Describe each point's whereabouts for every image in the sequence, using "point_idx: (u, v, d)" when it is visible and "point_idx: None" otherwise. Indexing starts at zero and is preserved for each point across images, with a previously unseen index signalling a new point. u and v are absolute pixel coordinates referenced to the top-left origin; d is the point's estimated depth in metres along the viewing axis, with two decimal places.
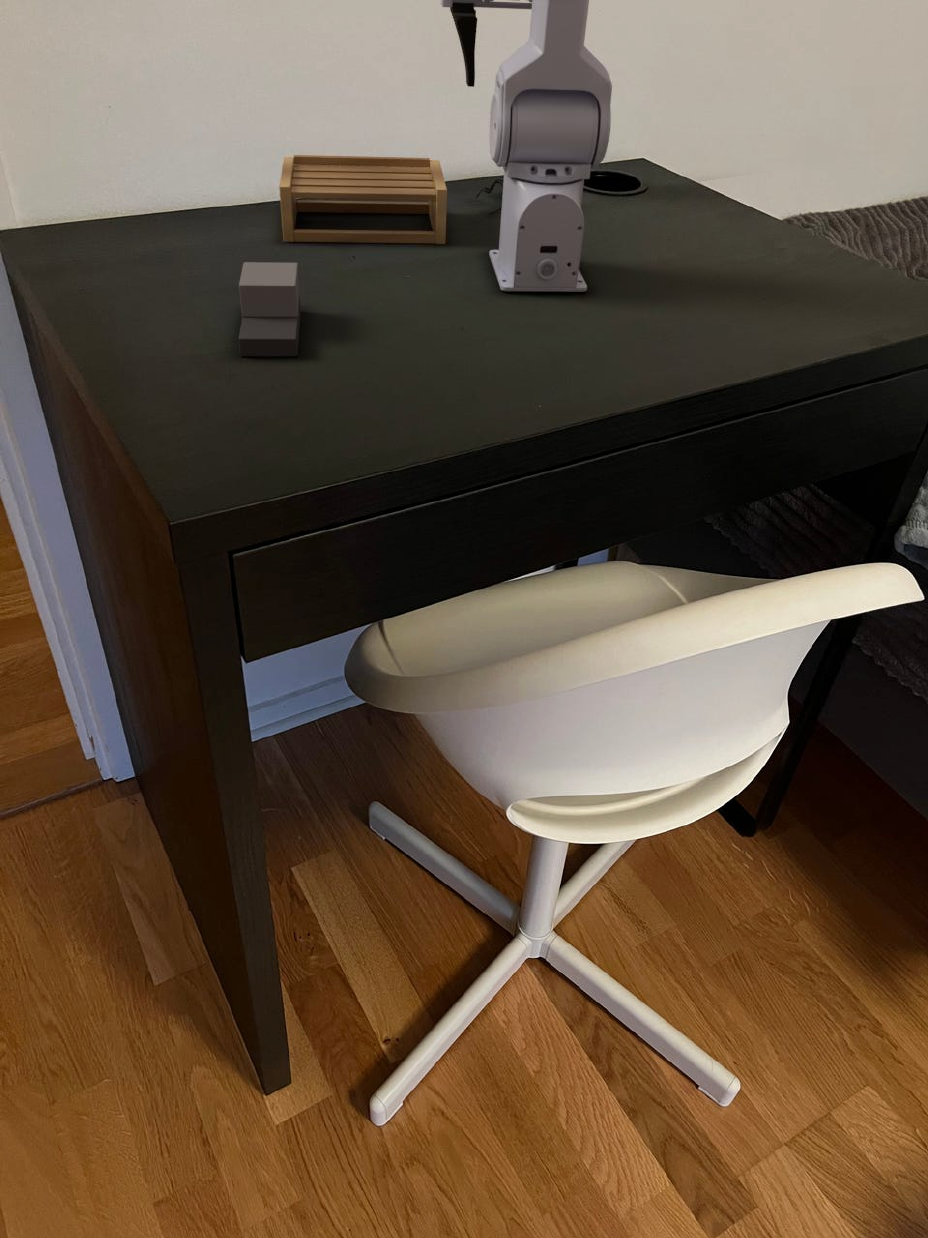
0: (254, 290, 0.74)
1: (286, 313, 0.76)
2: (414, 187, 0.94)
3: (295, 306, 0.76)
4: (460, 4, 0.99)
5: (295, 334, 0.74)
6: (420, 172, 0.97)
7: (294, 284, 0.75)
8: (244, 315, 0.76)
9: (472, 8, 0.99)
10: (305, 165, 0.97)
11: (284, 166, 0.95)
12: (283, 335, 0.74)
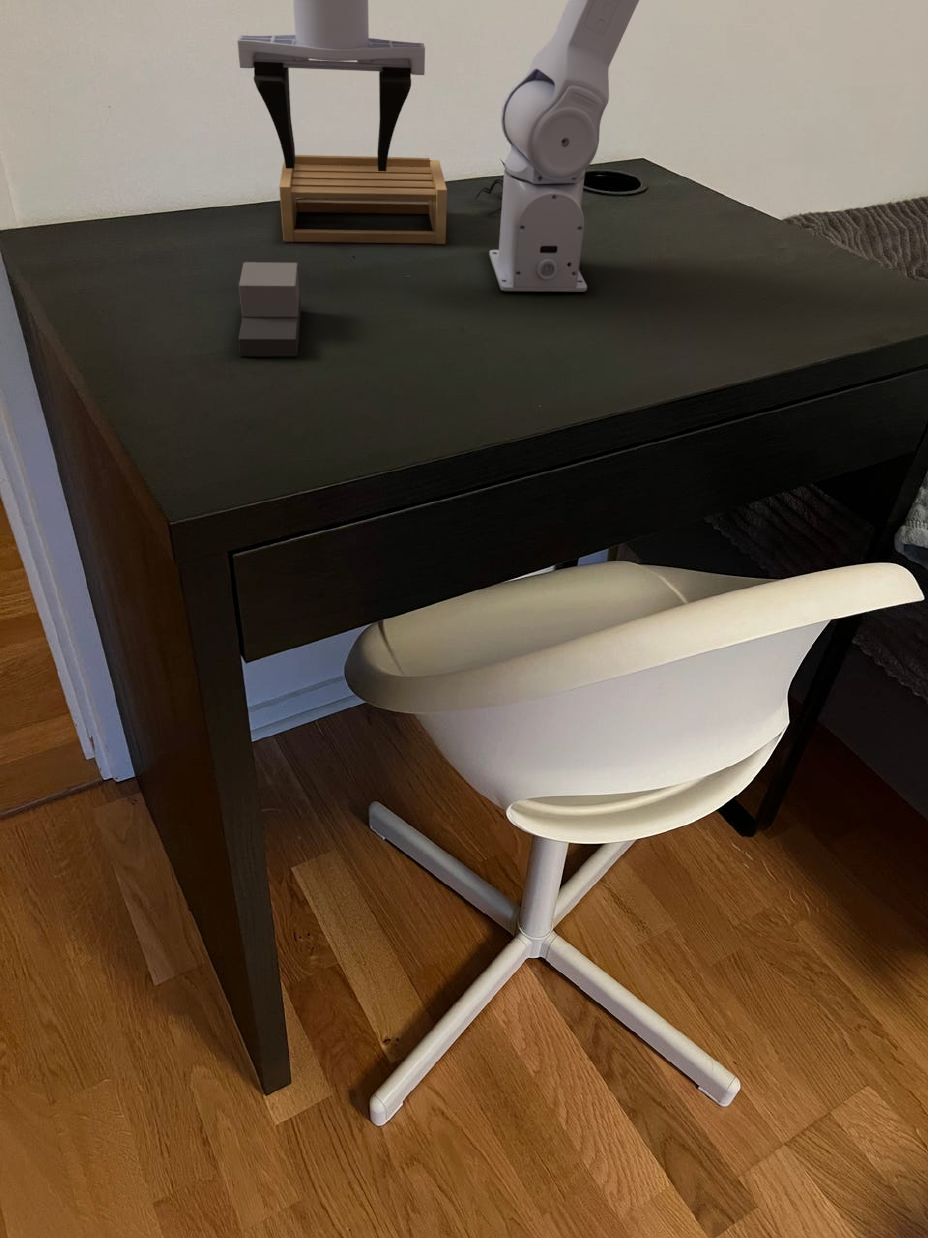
0: (254, 290, 0.74)
1: (286, 313, 0.76)
2: (414, 187, 0.94)
3: (295, 306, 0.76)
4: (264, 64, 0.74)
5: (295, 334, 0.74)
6: (420, 172, 0.97)
7: (294, 284, 0.75)
8: (244, 315, 0.76)
9: (281, 69, 0.75)
10: (305, 165, 0.97)
11: (284, 166, 0.95)
12: (283, 335, 0.74)
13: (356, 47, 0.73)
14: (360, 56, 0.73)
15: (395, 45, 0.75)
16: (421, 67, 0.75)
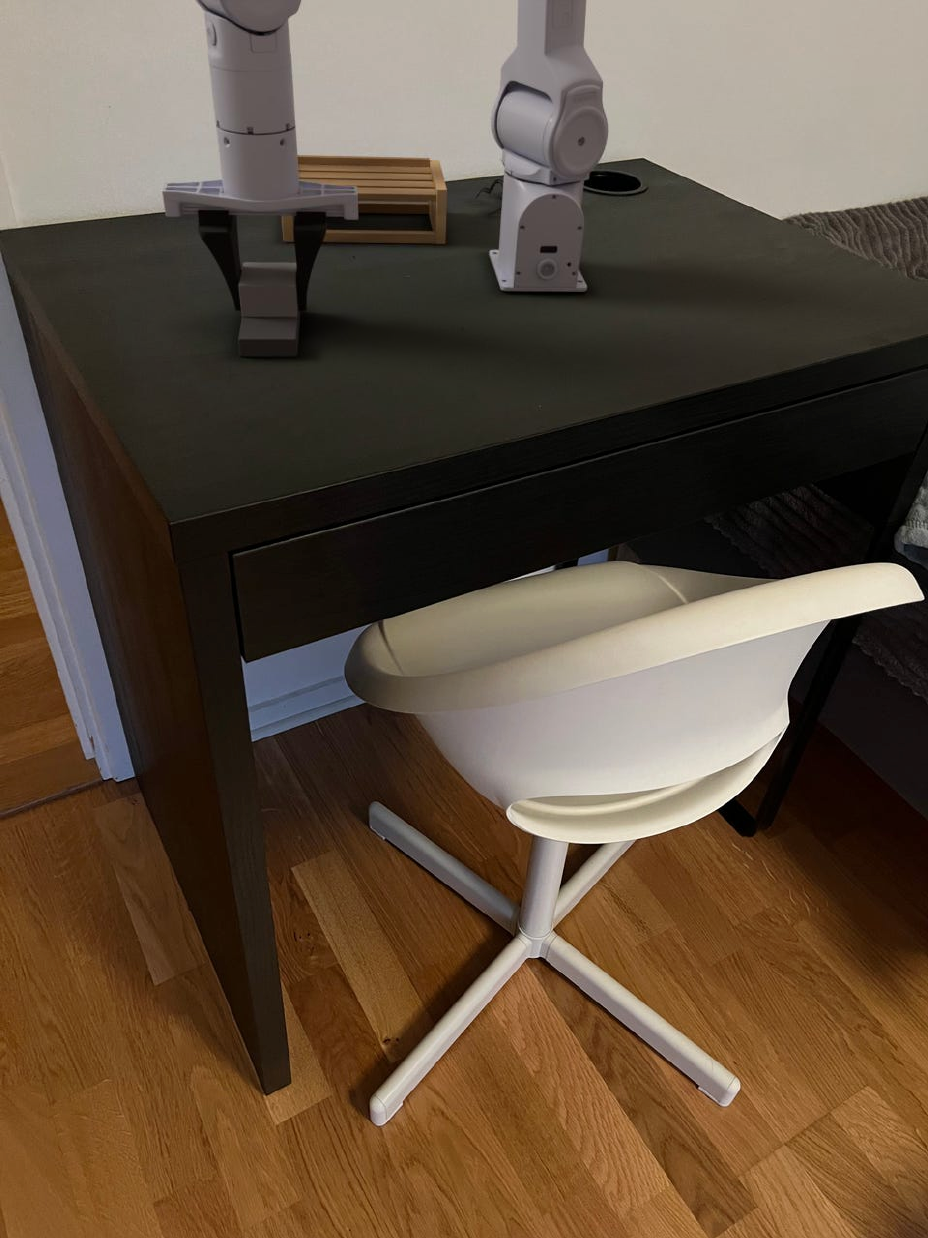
0: (254, 290, 0.74)
1: (286, 313, 0.76)
2: (414, 187, 0.94)
3: (295, 306, 0.76)
4: (209, 213, 0.72)
5: (295, 334, 0.74)
6: (420, 172, 0.97)
7: (294, 284, 0.75)
8: (244, 315, 0.76)
9: (226, 218, 0.72)
10: (305, 165, 0.97)
11: None
12: (282, 335, 0.74)
13: (285, 197, 0.70)
14: (289, 206, 0.71)
15: (327, 191, 0.72)
16: (354, 212, 0.73)
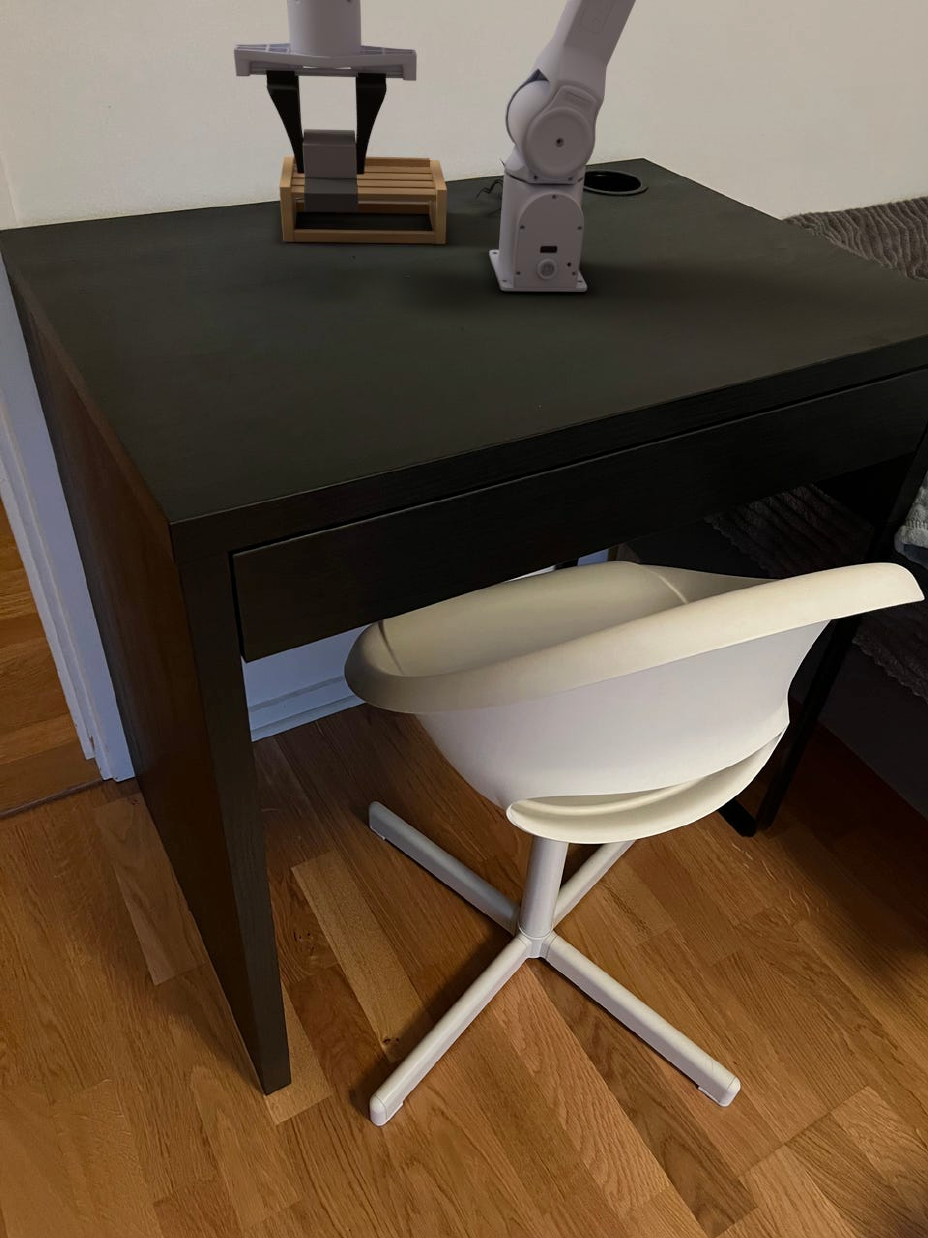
0: (317, 150, 0.79)
1: (346, 174, 0.80)
2: (414, 187, 0.94)
3: (355, 167, 0.80)
4: (276, 73, 0.76)
5: (356, 190, 0.78)
6: (420, 172, 0.97)
7: (354, 144, 0.79)
8: (306, 176, 0.80)
9: (292, 78, 0.77)
10: None
11: (284, 166, 0.95)
12: (345, 190, 0.78)
13: (350, 54, 0.75)
14: (354, 63, 0.75)
15: (387, 52, 0.77)
16: (413, 73, 0.77)
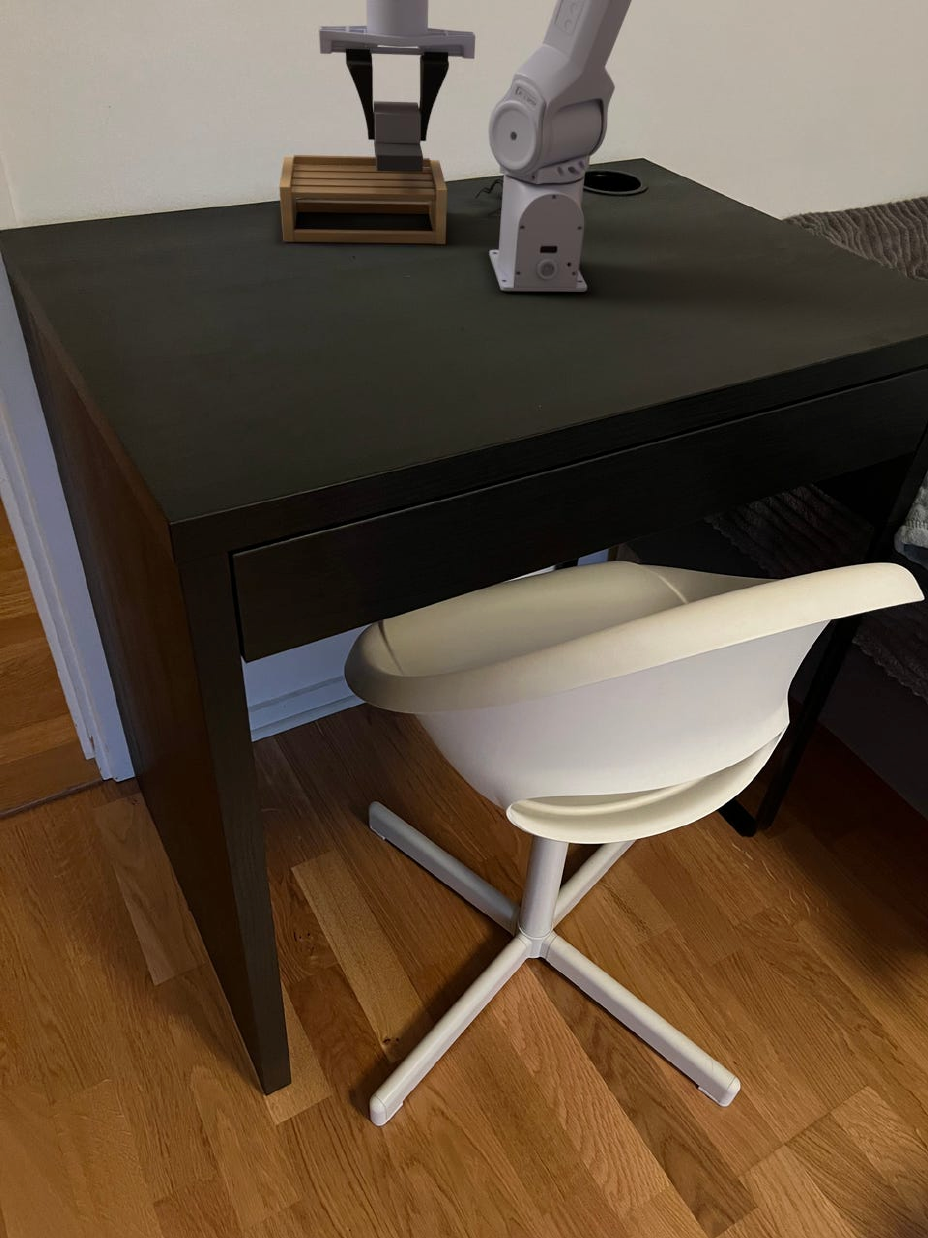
0: (387, 118, 0.91)
1: (411, 140, 0.92)
2: (414, 187, 0.94)
3: (419, 133, 0.92)
4: (354, 51, 0.88)
5: (421, 153, 0.90)
6: (420, 172, 0.97)
7: (419, 114, 0.91)
8: (377, 141, 0.92)
9: (368, 55, 0.89)
10: (305, 165, 0.97)
11: (284, 166, 0.95)
12: (412, 153, 0.90)
13: (419, 35, 0.87)
14: (422, 43, 0.87)
15: (450, 33, 0.89)
16: (472, 52, 0.89)
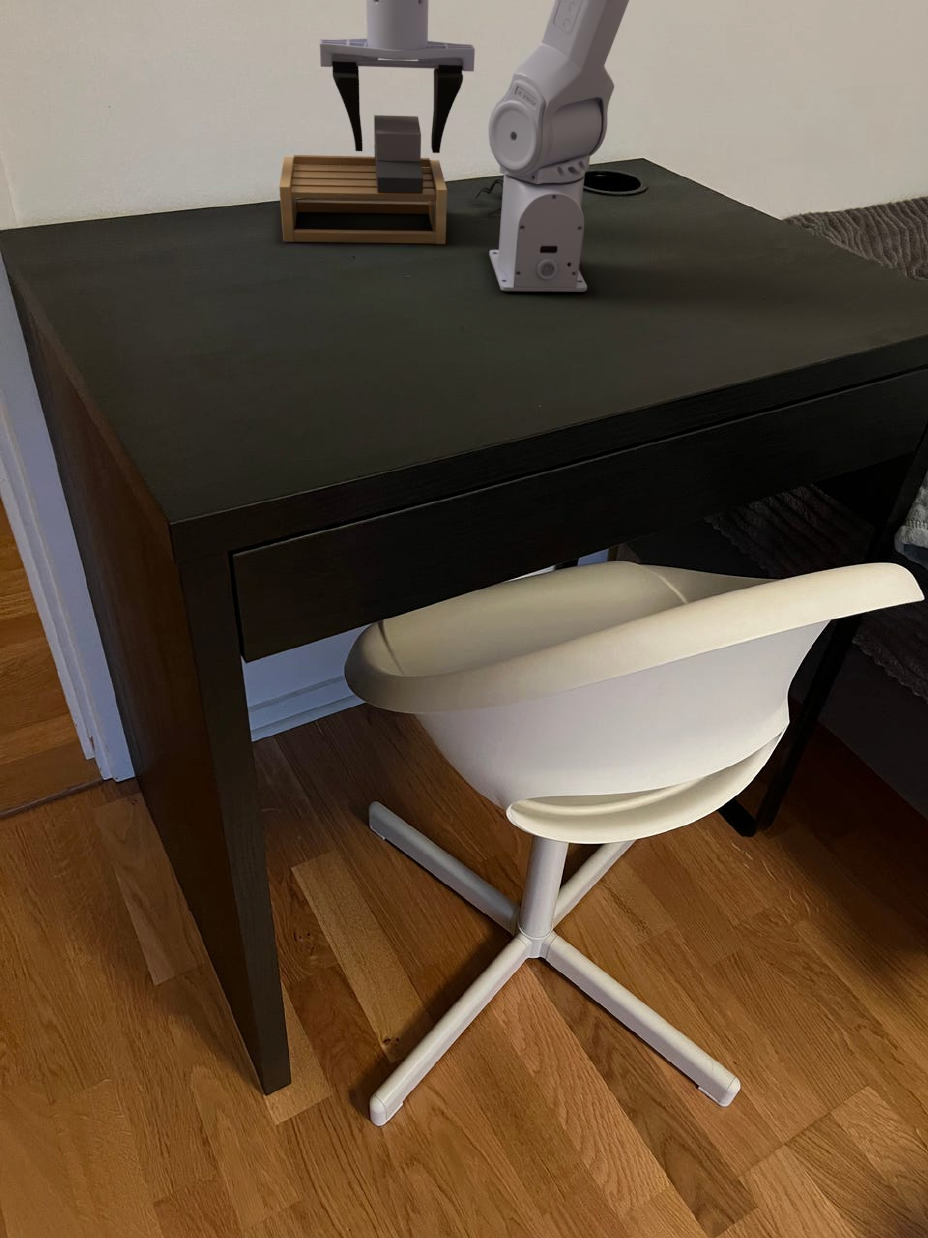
0: (388, 137, 0.92)
1: (411, 158, 0.93)
2: None
3: (419, 152, 0.93)
4: (341, 63, 0.89)
5: (421, 174, 0.92)
6: None
7: (420, 133, 0.92)
8: (378, 159, 0.93)
9: (354, 68, 0.89)
10: (305, 165, 0.97)
11: (284, 166, 0.95)
12: (412, 175, 0.91)
13: (418, 48, 0.88)
14: (422, 56, 0.88)
15: (449, 46, 0.90)
16: (471, 65, 0.90)
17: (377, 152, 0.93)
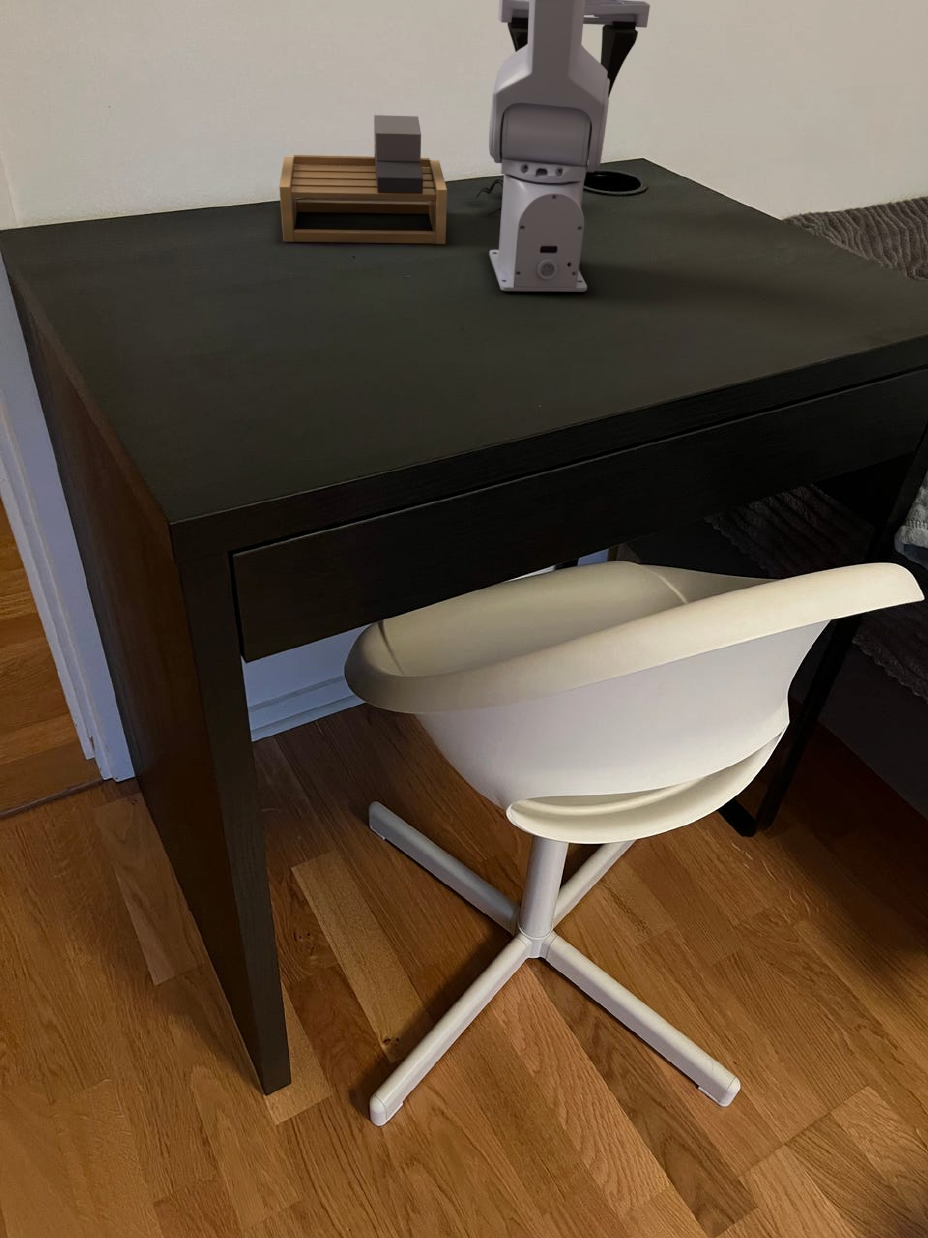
0: (388, 137, 0.92)
1: (411, 158, 0.93)
2: None
3: (419, 152, 0.93)
4: (520, 19, 0.91)
5: (421, 174, 0.92)
6: None
7: (420, 133, 0.92)
8: (378, 159, 0.93)
9: None
10: (305, 165, 0.97)
11: (284, 166, 0.95)
12: (412, 175, 0.91)
13: (598, 4, 0.90)
14: (601, 11, 0.90)
15: (625, 3, 0.92)
16: (645, 21, 0.92)
17: (377, 152, 0.93)
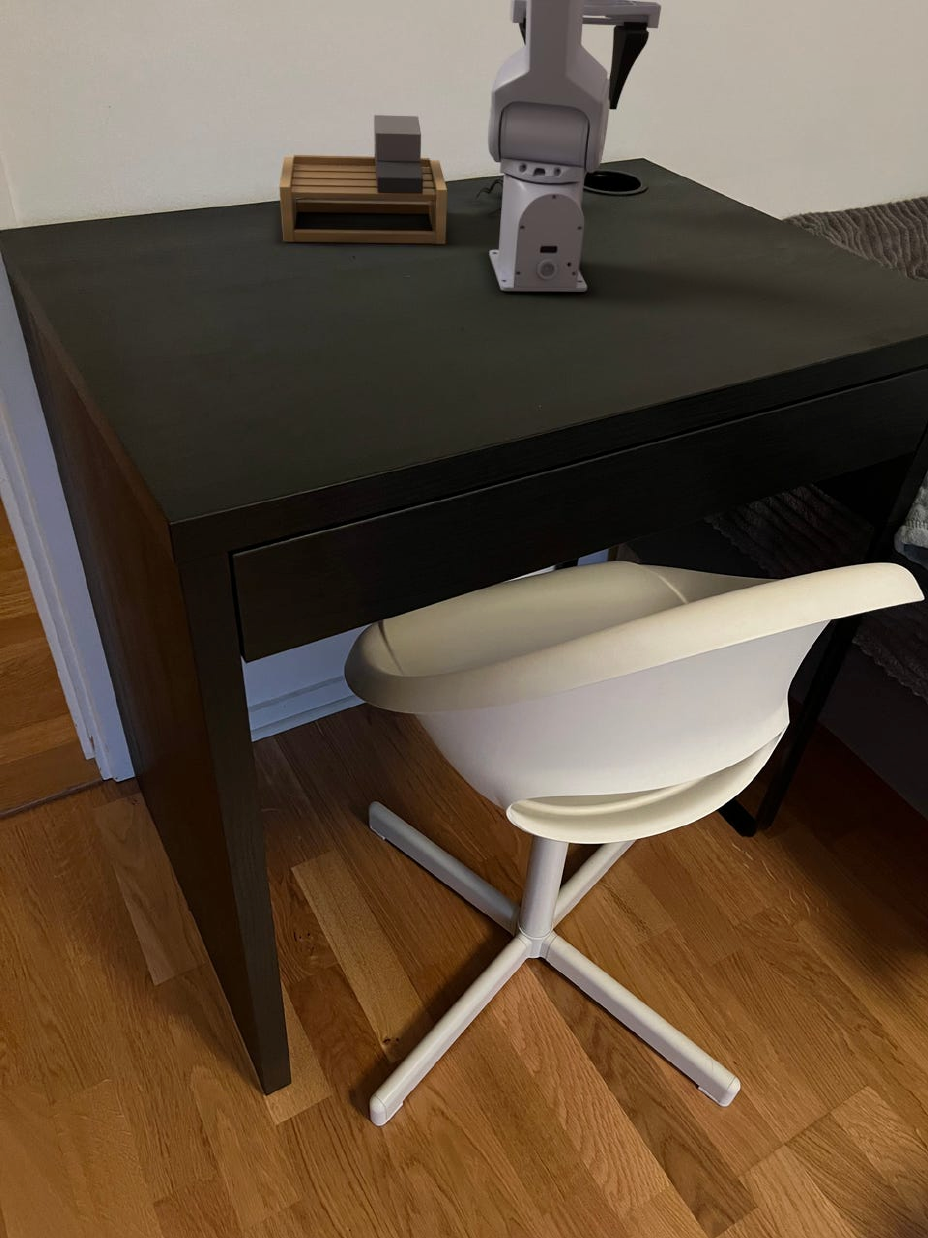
0: (388, 137, 0.92)
1: (411, 158, 0.93)
2: None
3: (419, 152, 0.93)
4: None
5: (421, 174, 0.92)
6: None
7: (420, 133, 0.92)
8: (378, 159, 0.93)
9: None
10: (305, 165, 0.97)
11: (284, 166, 0.95)
12: (412, 175, 0.91)
13: (610, 4, 0.90)
14: (613, 12, 0.91)
15: (636, 3, 0.92)
16: (656, 21, 0.93)
17: (377, 152, 0.93)
